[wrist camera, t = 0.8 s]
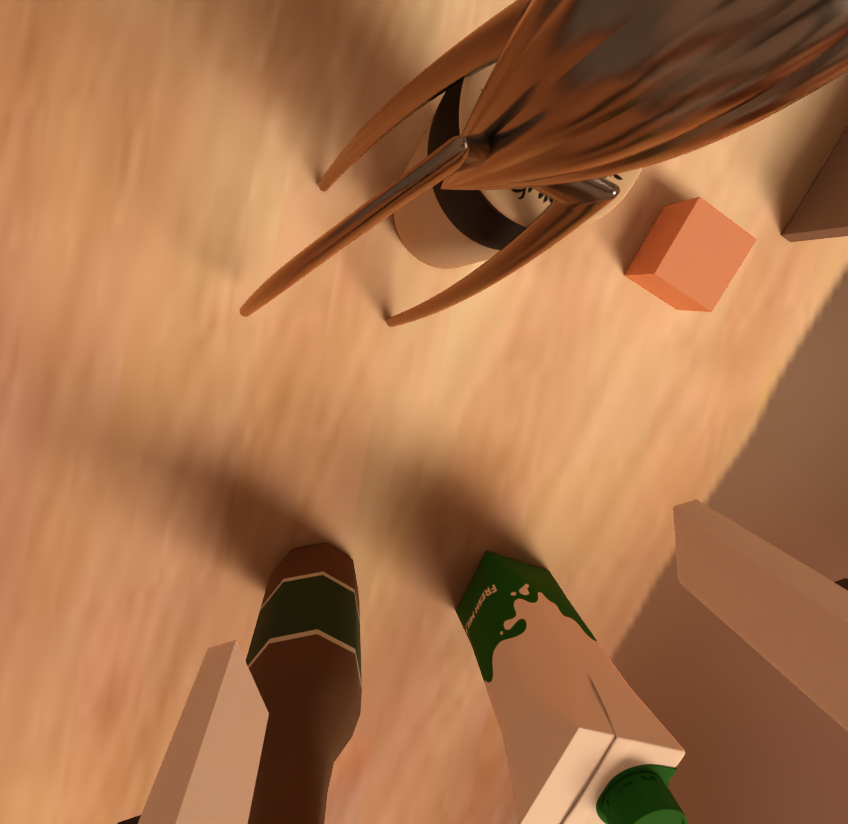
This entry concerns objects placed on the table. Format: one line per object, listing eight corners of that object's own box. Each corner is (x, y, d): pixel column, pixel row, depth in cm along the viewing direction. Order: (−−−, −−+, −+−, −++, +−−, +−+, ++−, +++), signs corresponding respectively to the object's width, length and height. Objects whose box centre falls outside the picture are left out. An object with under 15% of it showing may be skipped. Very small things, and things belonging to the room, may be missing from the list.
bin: (774, -160, 30) (874, -266, 24) (933, 11, 35) (1048, -44, 29) (626, 120, 33) (684, 85, 27) (790, 242, 38) (868, 233, 32)
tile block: (662, 206, 36) (699, 196, 32) (715, 244, 37) (756, 239, 33) (622, 275, 37) (654, 273, 33) (675, 309, 38) (711, 311, 34)
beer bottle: (330, 523, 38) (300, 874, 15) (376, 587, 40) (409, 974, 18) (251, 568, 38) (102, 989, 15) (302, 630, 40) (238, 1073, 17)
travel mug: (486, 277, 35) (632, 255, 17) (385, 258, 33) (437, 214, 16) (506, 167, 33) (689, 21, 16) (401, 141, 31) (477, -53, 14)
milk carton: (521, 637, 45) (648, 896, 26) (441, 615, 42) (515, 881, 23) (561, 565, 43) (728, 783, 24) (481, 538, 41) (594, 755, 22)
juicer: (237, 313, 29) (702, -273, 3) (320, 178, 31) (1108, -987, 4) (359, 387, 33) (999, 454, 7) (426, 266, 35) (1143, -51, 9)
